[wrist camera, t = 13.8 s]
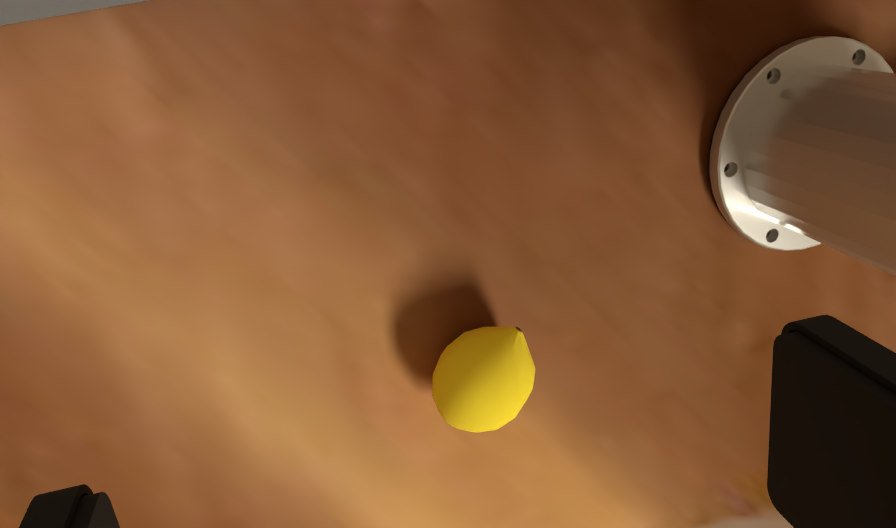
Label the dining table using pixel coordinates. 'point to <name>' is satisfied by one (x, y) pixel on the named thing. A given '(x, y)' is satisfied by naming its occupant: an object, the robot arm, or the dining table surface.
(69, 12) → the slate tray
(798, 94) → the robot arm
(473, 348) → the lemon
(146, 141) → the dining table surface
